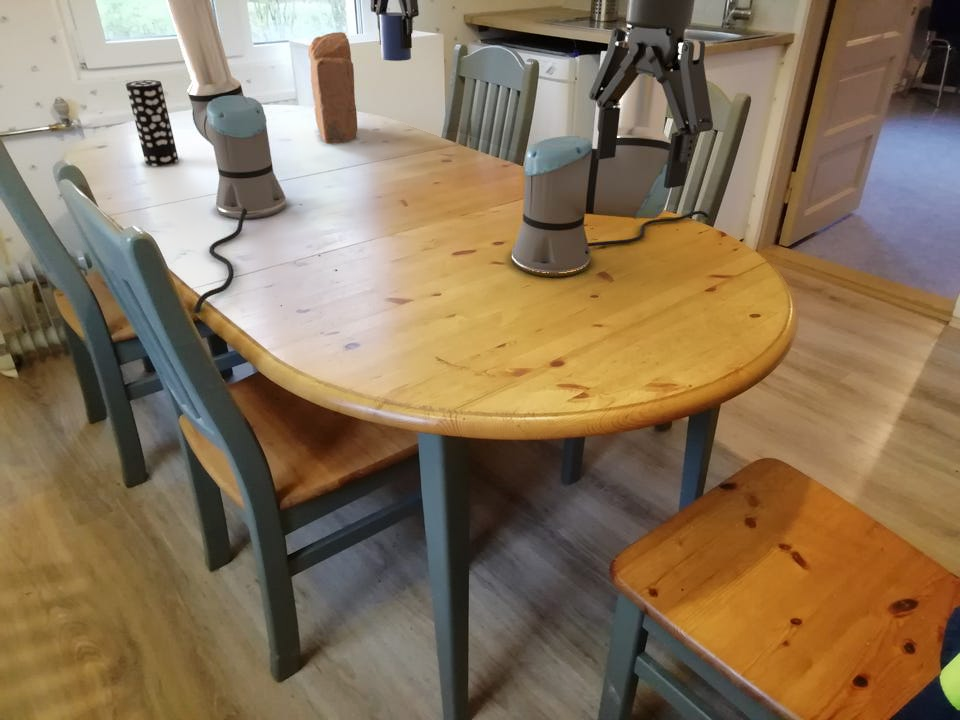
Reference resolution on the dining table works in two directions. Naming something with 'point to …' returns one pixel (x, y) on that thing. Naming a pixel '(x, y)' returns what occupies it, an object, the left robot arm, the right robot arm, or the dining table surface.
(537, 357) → the dining table surface
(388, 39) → the can
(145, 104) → the black white spotted cylinder
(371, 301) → the dining table surface
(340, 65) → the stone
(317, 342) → the dining table surface
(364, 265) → the dining table surface
